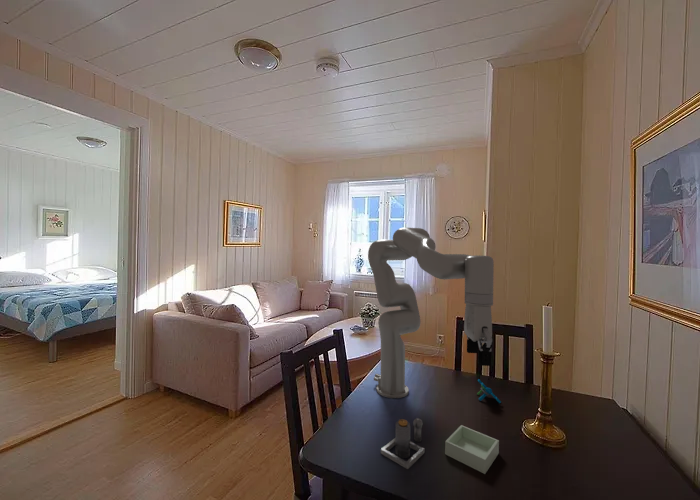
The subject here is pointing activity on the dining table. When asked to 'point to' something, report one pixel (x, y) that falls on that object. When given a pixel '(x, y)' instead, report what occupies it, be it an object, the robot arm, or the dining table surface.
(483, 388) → the blue plastic angled piece
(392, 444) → the grey piece
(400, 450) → the grey cylinder
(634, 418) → the dining table surface
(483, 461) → the bin
